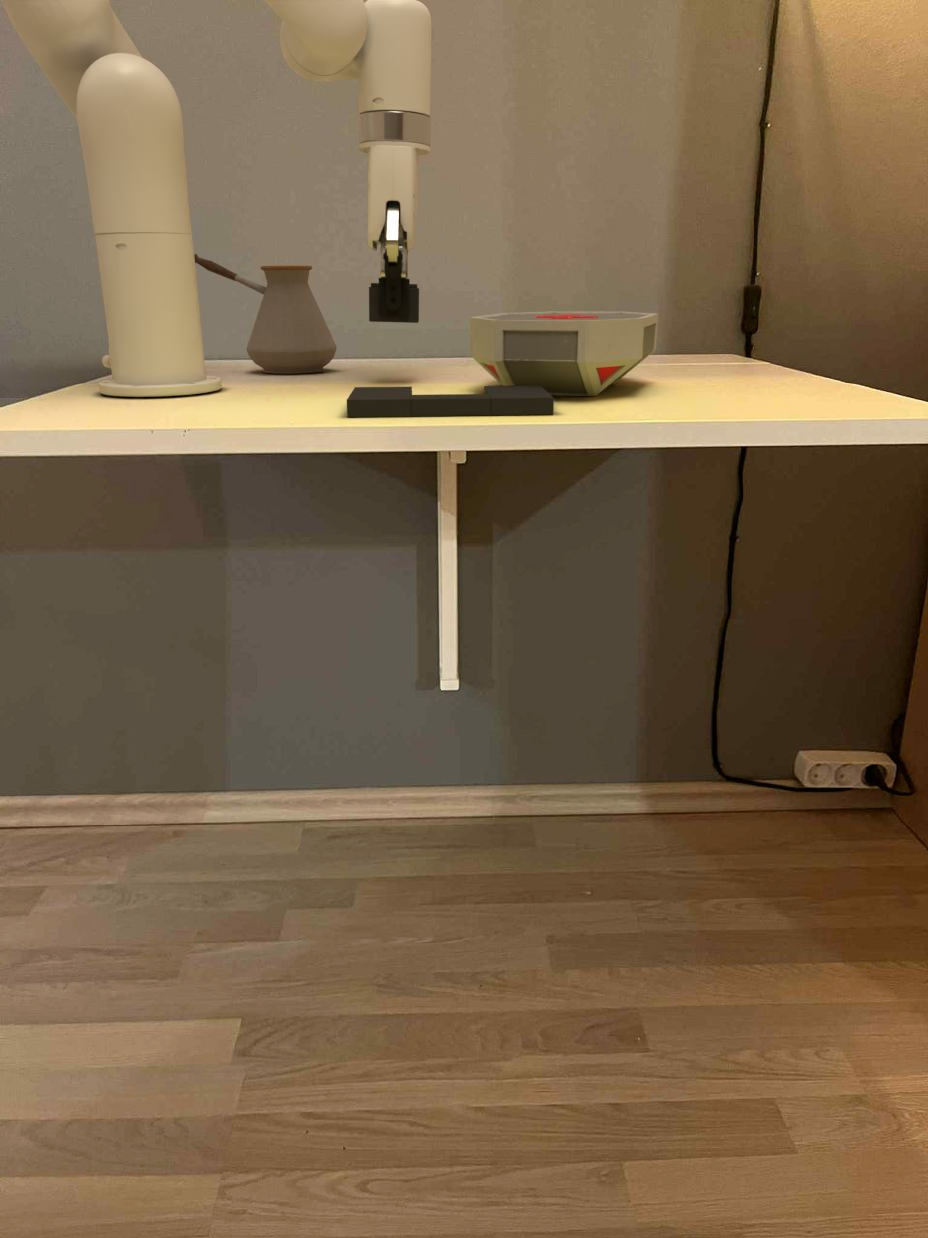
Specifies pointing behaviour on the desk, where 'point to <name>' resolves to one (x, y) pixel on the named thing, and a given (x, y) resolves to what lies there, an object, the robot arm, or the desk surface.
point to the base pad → (449, 402)
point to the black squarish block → (411, 318)
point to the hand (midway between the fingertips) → (394, 314)
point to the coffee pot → (285, 321)
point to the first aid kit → (562, 348)
